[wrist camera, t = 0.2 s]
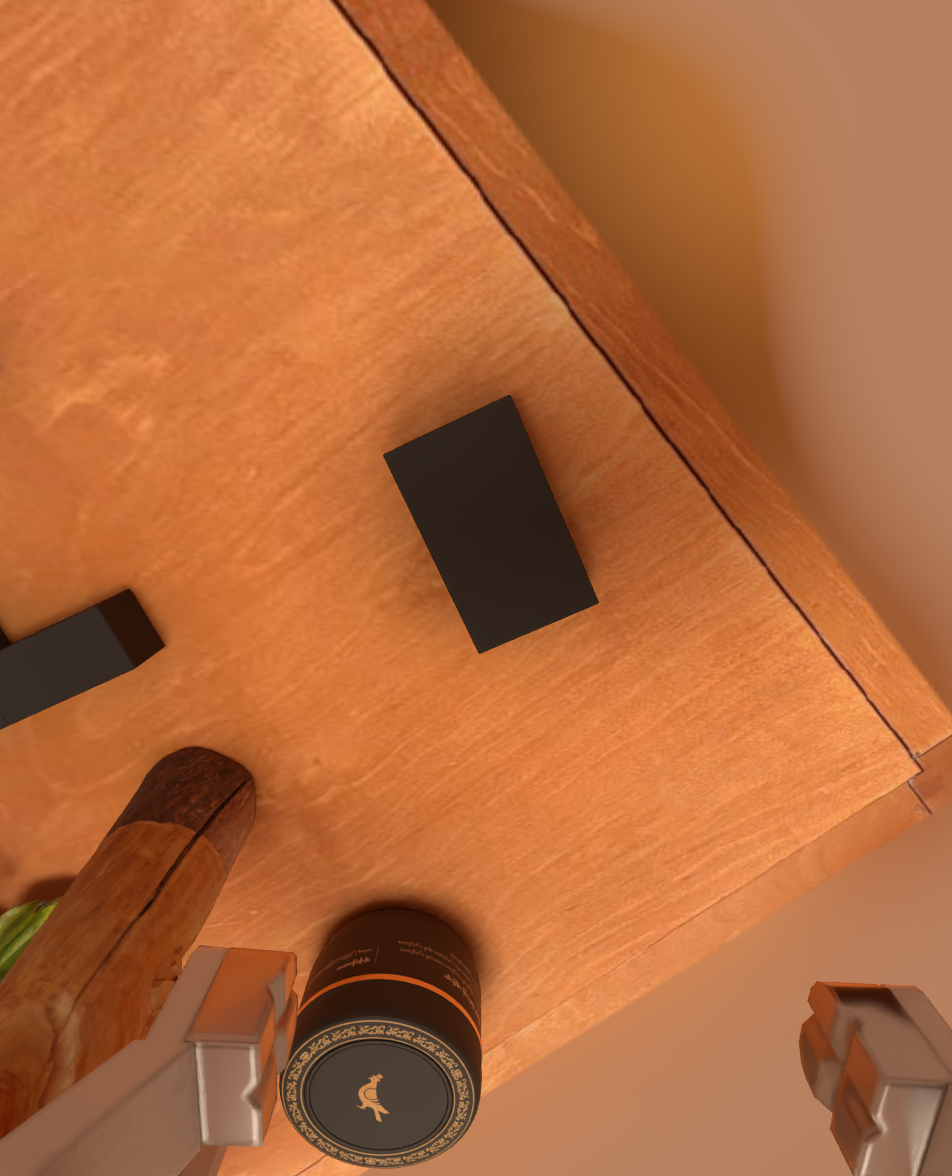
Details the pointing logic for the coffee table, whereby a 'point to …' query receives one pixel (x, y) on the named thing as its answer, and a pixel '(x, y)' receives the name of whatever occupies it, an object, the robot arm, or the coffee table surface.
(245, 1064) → the robot arm
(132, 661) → the base pad
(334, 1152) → the jar
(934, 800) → the coffee table surface
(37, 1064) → the sculpture
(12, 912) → the passion flower
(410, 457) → the black pad
